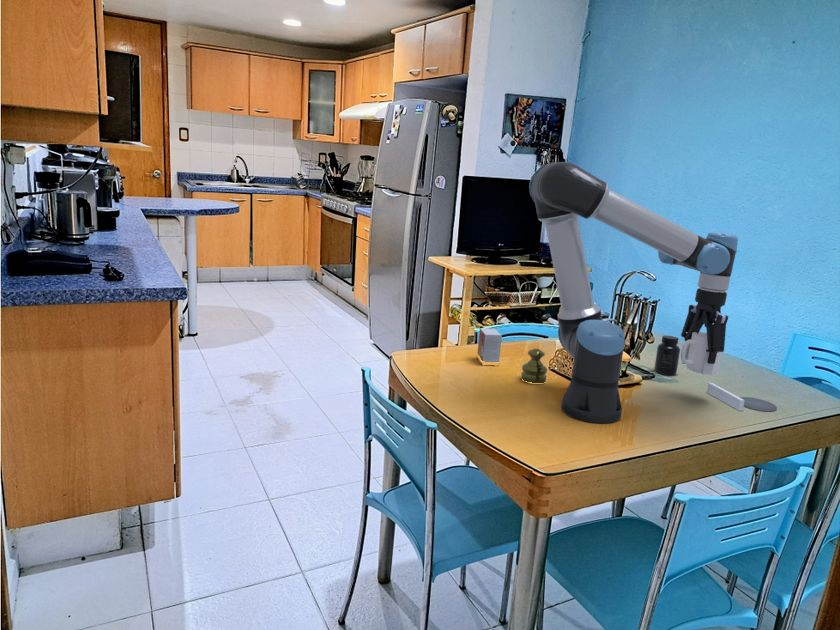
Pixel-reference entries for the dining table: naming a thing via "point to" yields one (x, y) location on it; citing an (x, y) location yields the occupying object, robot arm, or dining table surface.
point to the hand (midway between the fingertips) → (696, 368)
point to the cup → (698, 353)
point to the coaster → (758, 404)
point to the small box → (489, 345)
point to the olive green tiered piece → (534, 367)
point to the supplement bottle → (667, 356)
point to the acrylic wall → (725, 396)
